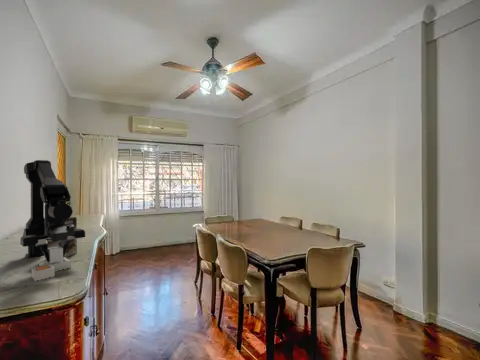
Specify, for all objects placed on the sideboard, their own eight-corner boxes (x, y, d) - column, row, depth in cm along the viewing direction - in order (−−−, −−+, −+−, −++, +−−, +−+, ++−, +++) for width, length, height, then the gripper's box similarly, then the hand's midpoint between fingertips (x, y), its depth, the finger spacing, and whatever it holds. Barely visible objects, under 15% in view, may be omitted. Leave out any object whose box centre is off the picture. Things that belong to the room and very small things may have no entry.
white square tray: (39, 268, 95) (39, 262, 95) (64, 263, 101) (64, 256, 101) (44, 273, 90) (44, 266, 90) (71, 267, 96) (71, 261, 96)
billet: (47, 264, 95) (46, 248, 95) (60, 261, 98) (59, 245, 98) (49, 266, 93) (49, 249, 93) (63, 263, 96) (62, 247, 96)
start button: (36, 273, 87) (35, 267, 87) (47, 270, 89) (47, 264, 89) (38, 275, 85) (38, 269, 85) (50, 272, 87) (50, 266, 87)
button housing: (31, 277, 87) (31, 268, 87) (50, 272, 91) (50, 264, 91) (35, 281, 83) (35, 271, 83) (54, 276, 87) (54, 267, 87)
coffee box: (59, 259, 106) (59, 220, 106) (46, 258, 108) (45, 219, 107) (77, 253, 115) (77, 216, 115) (65, 252, 116) (64, 216, 116)
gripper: (26, 223, 83) (27, 272, 83) (90, 216, 97) (90, 258, 97) (19, 220, 91) (20, 265, 91) (80, 214, 104) (80, 253, 105)
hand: (55, 260), depth 96 cm, fingers closed on billet, 4 cm apart
